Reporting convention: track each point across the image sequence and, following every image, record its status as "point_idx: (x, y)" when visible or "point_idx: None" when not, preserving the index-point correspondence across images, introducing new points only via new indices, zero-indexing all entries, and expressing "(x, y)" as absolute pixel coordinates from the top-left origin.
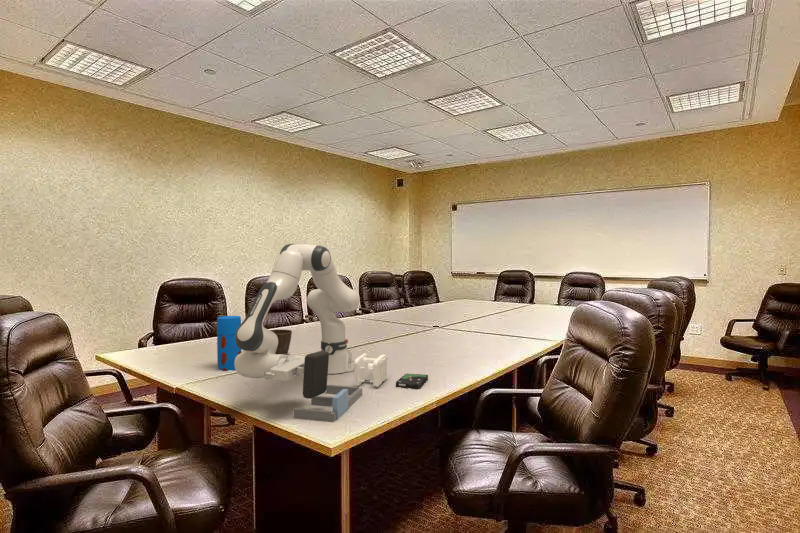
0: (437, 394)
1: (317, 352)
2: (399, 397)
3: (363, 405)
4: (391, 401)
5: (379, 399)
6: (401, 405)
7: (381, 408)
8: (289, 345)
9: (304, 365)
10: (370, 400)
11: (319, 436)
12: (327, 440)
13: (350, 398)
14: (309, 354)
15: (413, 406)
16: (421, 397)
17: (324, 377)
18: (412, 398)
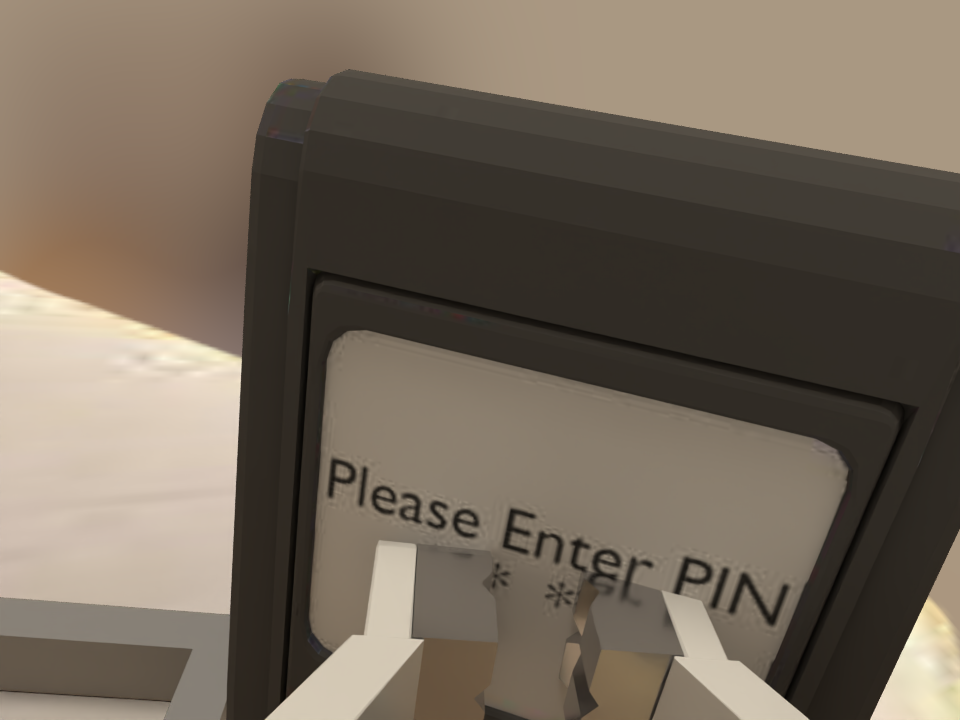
0: (37, 302)
1: (594, 111)
2: (36, 412)
3: (196, 572)
4: (122, 440)
5: (48, 498)
6: (217, 402)
7: None
8: None
9: (953, 534)
10: (58, 547)
11: (914, 709)
12: (910, 641)
13: (181, 614)
14: (936, 171)
15: (238, 367)
16: (74, 343)
17: None
18: (82, 368)
